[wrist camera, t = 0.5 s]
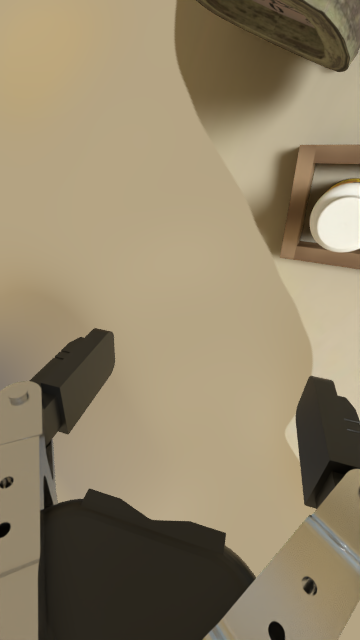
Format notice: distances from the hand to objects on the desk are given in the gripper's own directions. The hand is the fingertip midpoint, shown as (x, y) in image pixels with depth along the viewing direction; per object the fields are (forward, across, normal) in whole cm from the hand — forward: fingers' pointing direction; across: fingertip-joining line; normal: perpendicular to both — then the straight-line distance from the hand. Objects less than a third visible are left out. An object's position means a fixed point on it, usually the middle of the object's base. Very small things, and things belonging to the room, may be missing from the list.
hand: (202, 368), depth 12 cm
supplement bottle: (+26, -10, -4) cm, 28 cm away
